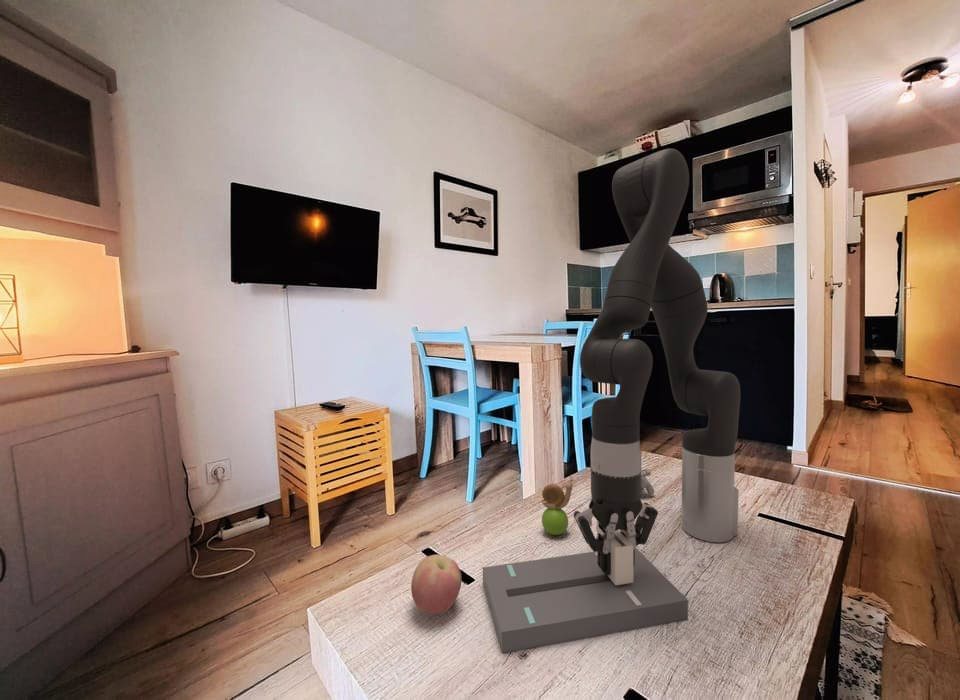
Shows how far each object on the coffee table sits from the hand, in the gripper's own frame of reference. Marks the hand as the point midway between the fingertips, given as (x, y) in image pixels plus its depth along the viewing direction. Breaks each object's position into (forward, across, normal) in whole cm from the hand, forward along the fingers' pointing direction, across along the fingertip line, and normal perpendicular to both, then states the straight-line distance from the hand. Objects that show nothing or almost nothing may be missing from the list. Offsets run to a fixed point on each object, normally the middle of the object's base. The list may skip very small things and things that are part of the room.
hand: (615, 569), depth 62 cm
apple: (+4, +28, -3) cm, 29 cm away
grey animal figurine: (+4, -23, -34) cm, 41 cm away
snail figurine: (+4, +2, -19) cm, 20 cm away
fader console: (+4, +6, 0) cm, 8 cm away
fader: (+1, 0, 0) cm, 1 cm away
